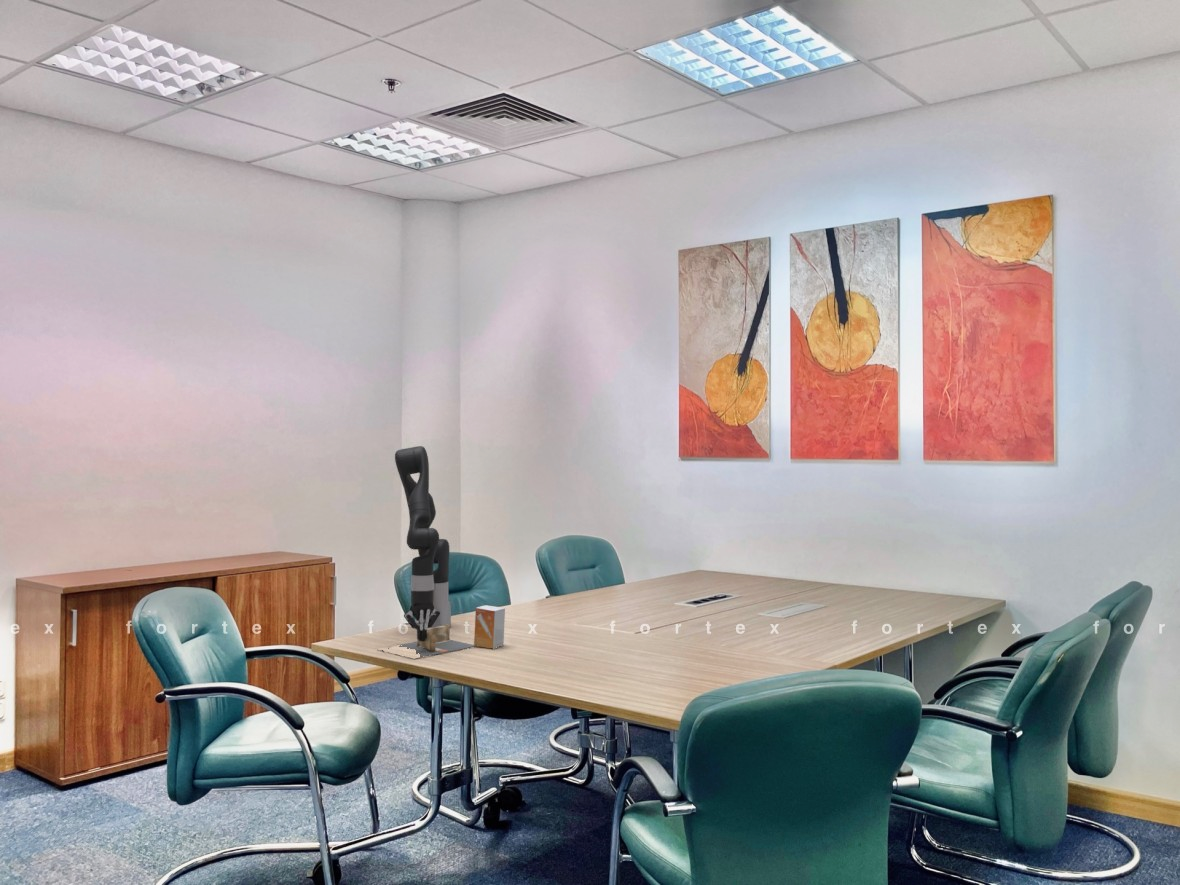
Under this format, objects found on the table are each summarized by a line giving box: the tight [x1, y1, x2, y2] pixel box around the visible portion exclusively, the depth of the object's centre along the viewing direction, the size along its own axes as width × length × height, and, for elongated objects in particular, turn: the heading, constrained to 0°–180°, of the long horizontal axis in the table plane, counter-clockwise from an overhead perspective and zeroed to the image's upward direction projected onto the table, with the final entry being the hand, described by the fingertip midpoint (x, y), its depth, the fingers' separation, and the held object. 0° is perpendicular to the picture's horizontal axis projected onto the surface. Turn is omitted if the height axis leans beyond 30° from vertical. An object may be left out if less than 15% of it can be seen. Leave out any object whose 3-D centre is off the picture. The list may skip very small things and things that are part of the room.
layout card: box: [388, 639, 477, 657], centre depth 327 cm, size 26×21×1 cm
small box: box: [473, 604, 506, 649], centre depth 330 cm, size 8×6×13 cm
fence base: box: [416, 624, 450, 646], centre depth 334 cm, size 13×2×6 cm, turn 136°
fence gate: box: [420, 632, 436, 651], centre depth 324 cm, size 11×2×5 cm, turn 31°
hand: (421, 641), depth 322 cm, fingers closed
